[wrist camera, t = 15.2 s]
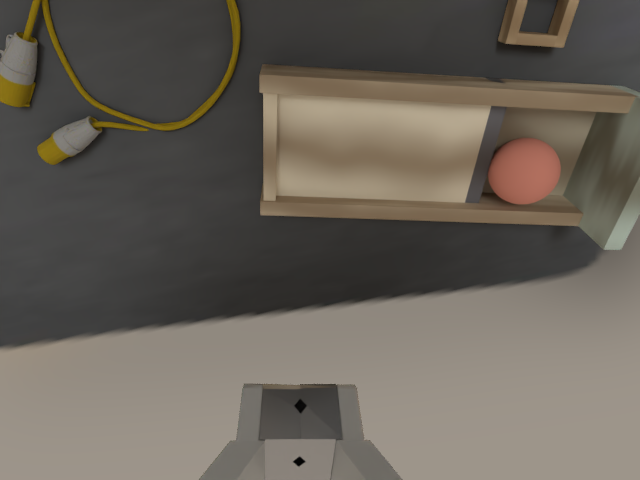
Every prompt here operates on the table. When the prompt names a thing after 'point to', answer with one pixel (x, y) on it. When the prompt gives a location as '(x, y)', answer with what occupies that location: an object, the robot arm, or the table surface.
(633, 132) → the tray
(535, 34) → the hollow square frame
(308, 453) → the robot arm
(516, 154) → the ball
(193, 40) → the table surface
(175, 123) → the extension cord
